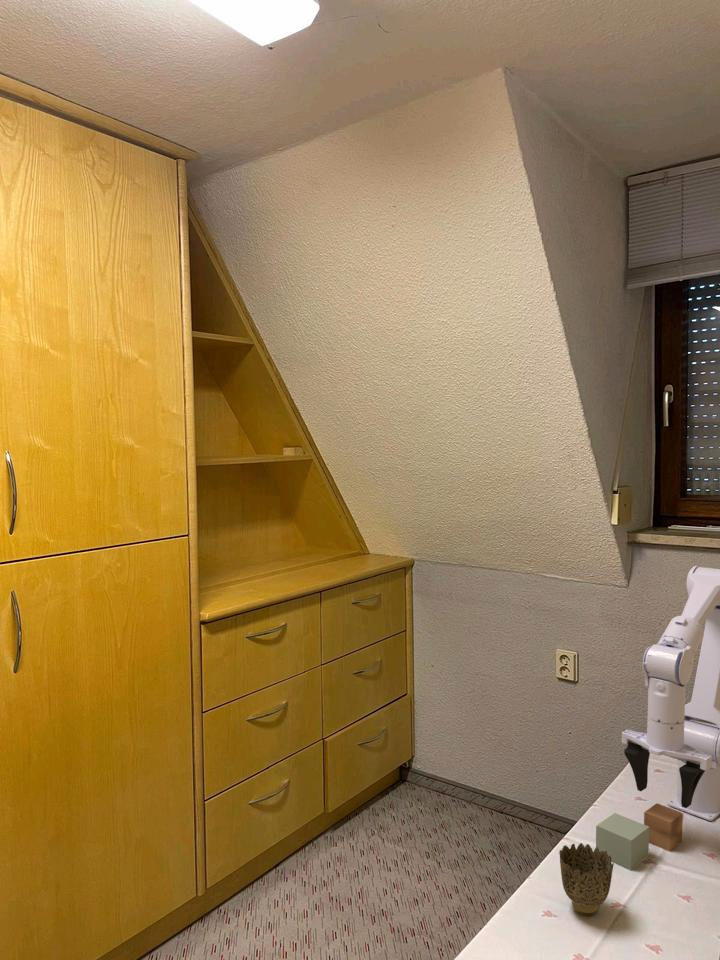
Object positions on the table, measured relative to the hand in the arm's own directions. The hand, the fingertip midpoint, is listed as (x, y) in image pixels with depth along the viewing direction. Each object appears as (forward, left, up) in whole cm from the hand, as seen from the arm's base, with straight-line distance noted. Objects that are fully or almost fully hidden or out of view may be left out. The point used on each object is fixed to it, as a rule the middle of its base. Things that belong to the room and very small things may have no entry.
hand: (663, 797), depth 124 cm
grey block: (+9, -3, -8) cm, 12 cm away
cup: (+26, +1, -8) cm, 27 cm away
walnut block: (0, 0, -8) cm, 8 cm away
